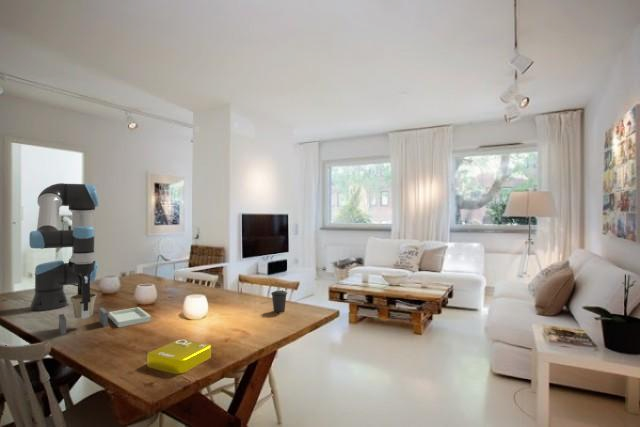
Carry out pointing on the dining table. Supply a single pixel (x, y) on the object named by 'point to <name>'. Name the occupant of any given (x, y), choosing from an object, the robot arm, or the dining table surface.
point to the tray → (129, 317)
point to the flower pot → (77, 305)
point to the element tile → (179, 356)
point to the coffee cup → (279, 300)
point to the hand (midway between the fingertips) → (83, 315)
